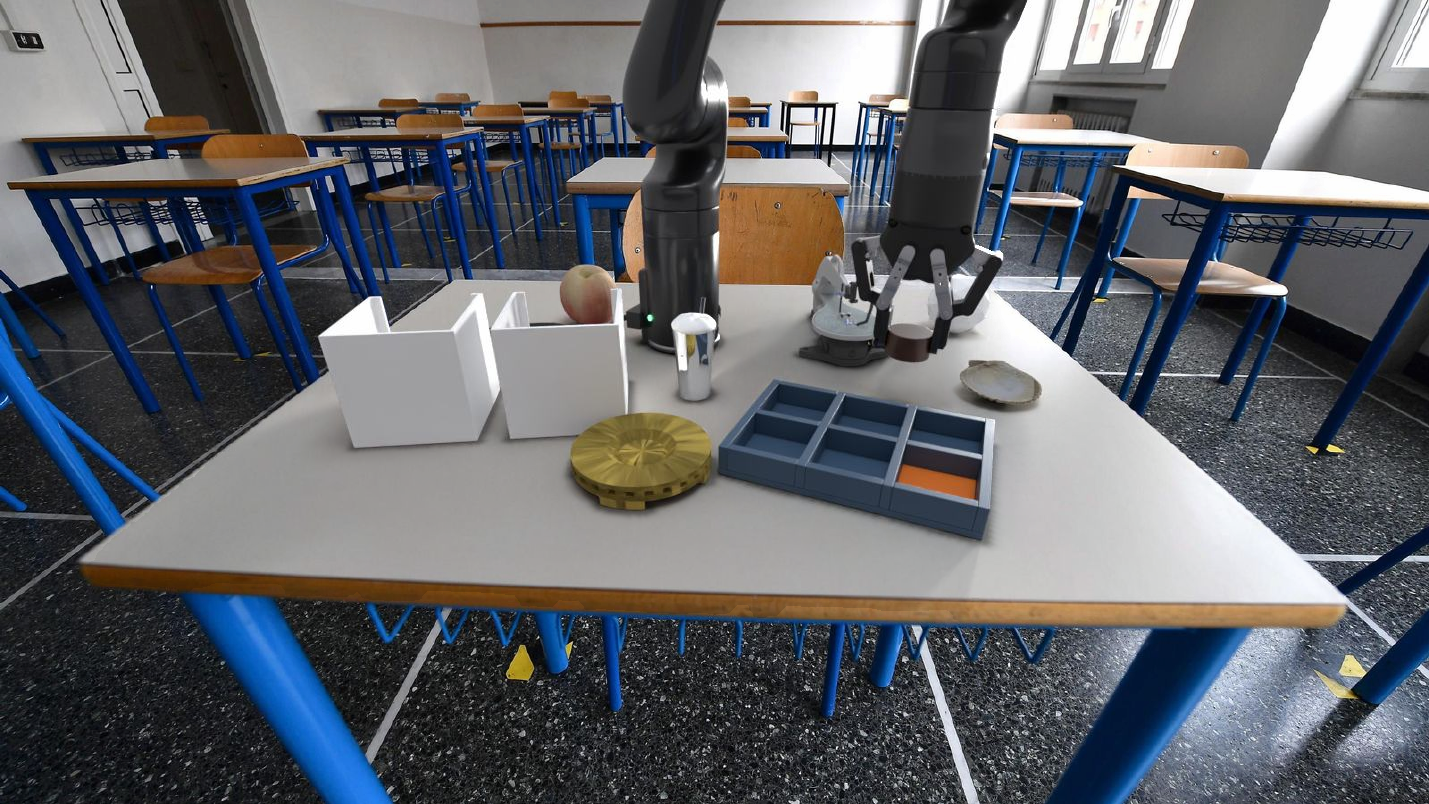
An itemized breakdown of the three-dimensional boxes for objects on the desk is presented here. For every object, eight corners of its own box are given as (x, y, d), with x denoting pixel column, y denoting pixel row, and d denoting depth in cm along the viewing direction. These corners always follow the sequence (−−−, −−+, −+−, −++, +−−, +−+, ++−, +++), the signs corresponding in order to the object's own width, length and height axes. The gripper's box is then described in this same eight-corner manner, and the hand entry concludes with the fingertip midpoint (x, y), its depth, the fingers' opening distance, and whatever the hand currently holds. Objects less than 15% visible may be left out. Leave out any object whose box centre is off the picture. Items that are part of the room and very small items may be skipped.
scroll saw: (786, 241, 83) (867, 241, 84) (782, 314, 88) (859, 313, 89) (811, 282, 66) (914, 282, 66) (804, 370, 71) (900, 369, 71)
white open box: (354, 447, 55) (317, 336, 50) (396, 394, 65) (369, 296, 60) (627, 432, 58) (618, 324, 53) (628, 383, 67) (621, 288, 62)
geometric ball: (951, 343, 86) (982, 294, 85) (978, 344, 78) (1012, 290, 77) (907, 315, 85) (938, 266, 84) (929, 313, 77) (964, 259, 76)
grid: (718, 473, 52) (718, 445, 50) (772, 402, 63) (773, 378, 62) (981, 540, 44) (990, 509, 43) (988, 445, 56) (995, 419, 54)
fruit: (564, 335, 81) (556, 277, 77) (563, 315, 88) (556, 261, 84) (623, 330, 82) (619, 273, 79) (617, 311, 89) (613, 258, 86)
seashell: (966, 422, 63) (1050, 413, 61) (966, 399, 62) (1052, 389, 59) (954, 377, 70) (1030, 368, 67) (953, 355, 68) (1030, 345, 66)
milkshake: (723, 385, 67) (724, 299, 62) (707, 407, 62) (707, 315, 58) (685, 380, 68) (683, 295, 64) (667, 400, 64) (663, 310, 59)
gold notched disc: (551, 459, 54) (547, 438, 53) (664, 420, 60) (663, 401, 59) (614, 529, 45) (612, 506, 44) (739, 475, 51) (739, 454, 50)
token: (880, 357, 60) (884, 334, 59) (888, 342, 63) (892, 320, 62) (926, 366, 58) (931, 342, 57) (931, 350, 62) (936, 327, 61)
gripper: (1029, 167, 53) (985, 346, 61) (867, 157, 58) (846, 323, 66) (1030, 177, 47) (981, 374, 55) (849, 165, 52) (828, 347, 60)
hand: (907, 346), depth 60 cm, fingers closed on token, 4 cm apart
